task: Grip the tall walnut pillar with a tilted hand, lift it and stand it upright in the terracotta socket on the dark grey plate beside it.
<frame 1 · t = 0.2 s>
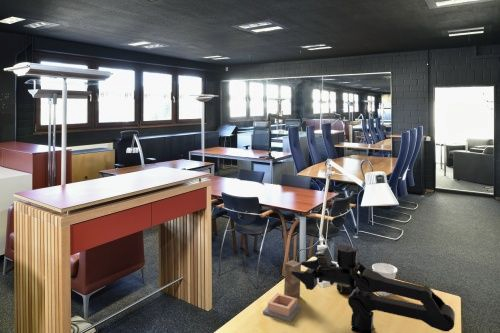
hand: (296, 267, 140), 17 cm above the table, fingers open, 9 cm apart
tape measure: (345, 291, 157), on the table
cup: (382, 293, 156), on the table
walnut pillar: (291, 295, 152), on the table
socket stand: (282, 310, 141), on the table
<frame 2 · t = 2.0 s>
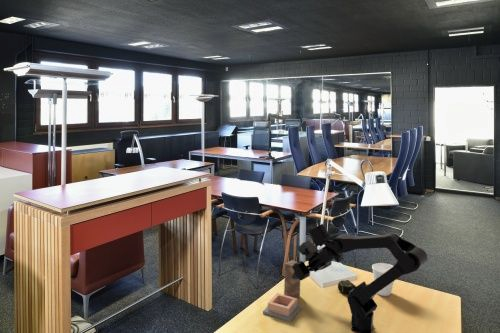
hand: (299, 274, 148), 11 cm above the table, fingers open, 9 cm apart
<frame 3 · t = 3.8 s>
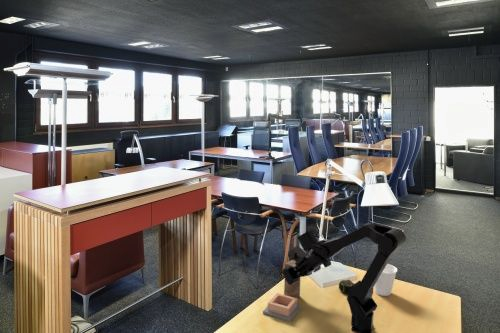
hand: (289, 278, 152), 7 cm above the table, fingers closed on walnut pillar, 4 cm apart
walnut pillar: (291, 295, 152), on the table, touching gripper
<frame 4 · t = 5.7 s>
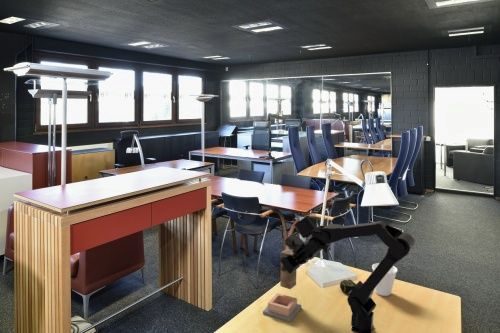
hand: (285, 267, 147), 13 cm above the table, fingers closed on walnut pillar, 4 cm apart
walnut pillar: (288, 285, 147), point 6 cm above the table, touching gripper
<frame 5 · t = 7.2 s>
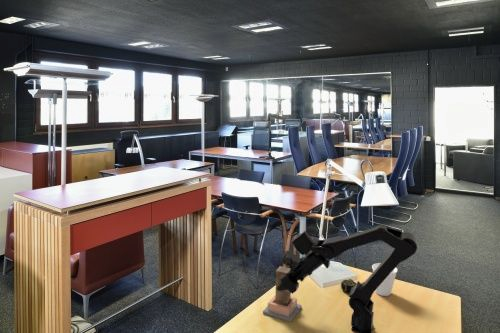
hand: (279, 286, 140), 9 cm above the table, fingers closed on walnut pillar, 4 cm apart
walnut pillar: (282, 304, 141), point 2 cm above the table, touching gripper
when the fingers open (8 cm above the table, at t = 7.9 s): walnut pillar stays where it is, resting on socket stand.
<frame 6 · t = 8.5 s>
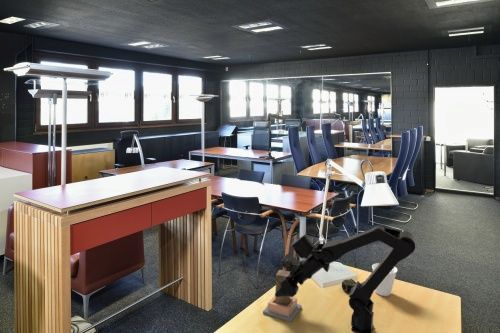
hand: (279, 289, 141), 8 cm above the table, fingers open, 9 cm apart
walnut pillar: (282, 308, 141), point 1 cm above the table, touching socket stand
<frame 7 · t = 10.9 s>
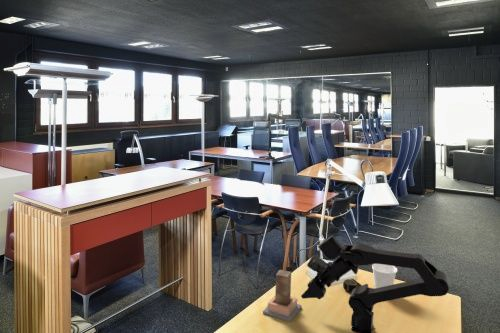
hand: (305, 291, 138), 9 cm above the table, fingers open, 9 cm apart
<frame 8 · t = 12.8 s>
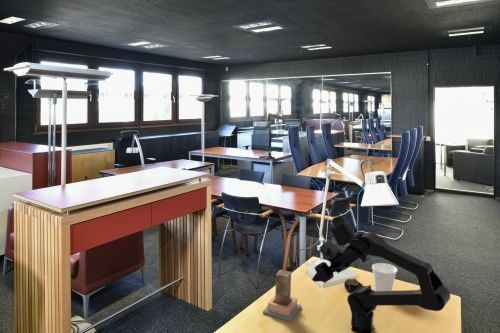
hand: (319, 276, 140), 14 cm above the table, fingers open, 9 cm apart
at the end: walnut pillar 0.1 cm off-centre on the socket stand, point 1.0 cm above the socket stand's base; walnut pillar tilted 0°; the gripper is holding nothing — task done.
